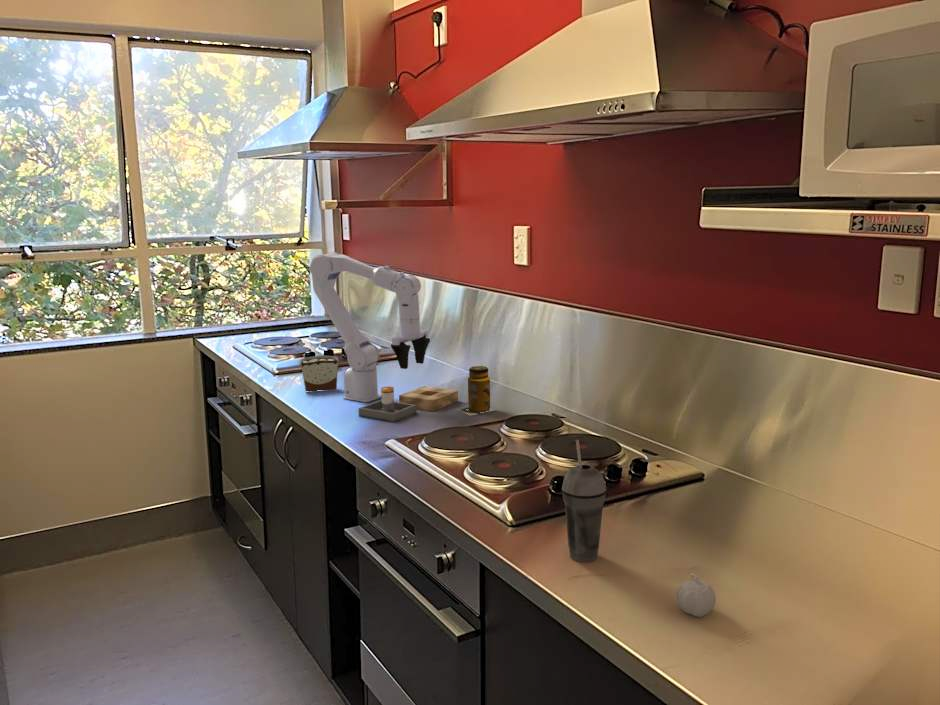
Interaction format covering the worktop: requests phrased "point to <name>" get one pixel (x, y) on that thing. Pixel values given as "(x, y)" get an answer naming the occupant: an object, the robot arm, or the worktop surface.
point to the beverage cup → (583, 509)
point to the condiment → (478, 391)
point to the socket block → (429, 398)
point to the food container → (320, 372)
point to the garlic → (696, 597)
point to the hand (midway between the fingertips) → (412, 365)
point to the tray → (376, 412)
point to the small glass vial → (387, 399)
